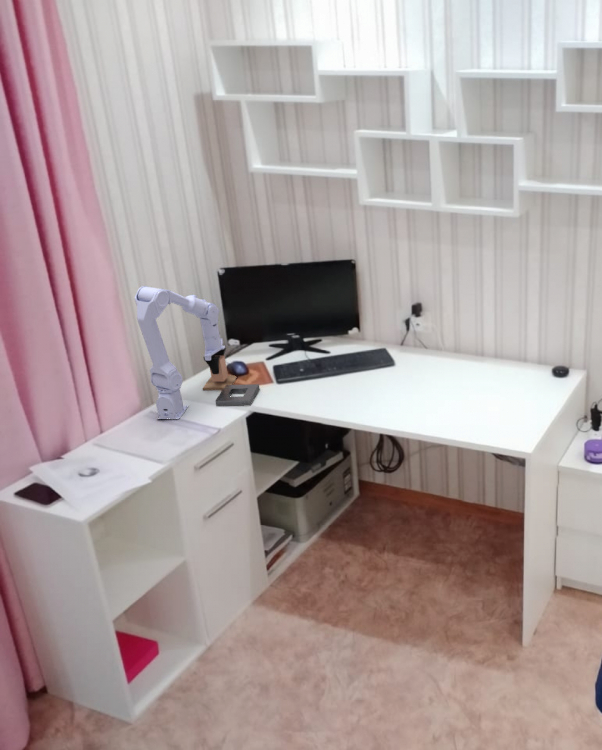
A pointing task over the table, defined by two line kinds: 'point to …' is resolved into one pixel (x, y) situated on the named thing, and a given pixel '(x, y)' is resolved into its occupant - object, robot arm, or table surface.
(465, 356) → the table surface
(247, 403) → the socket plate
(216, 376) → the pinkish brown rectangular block
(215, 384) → the walnut pad
